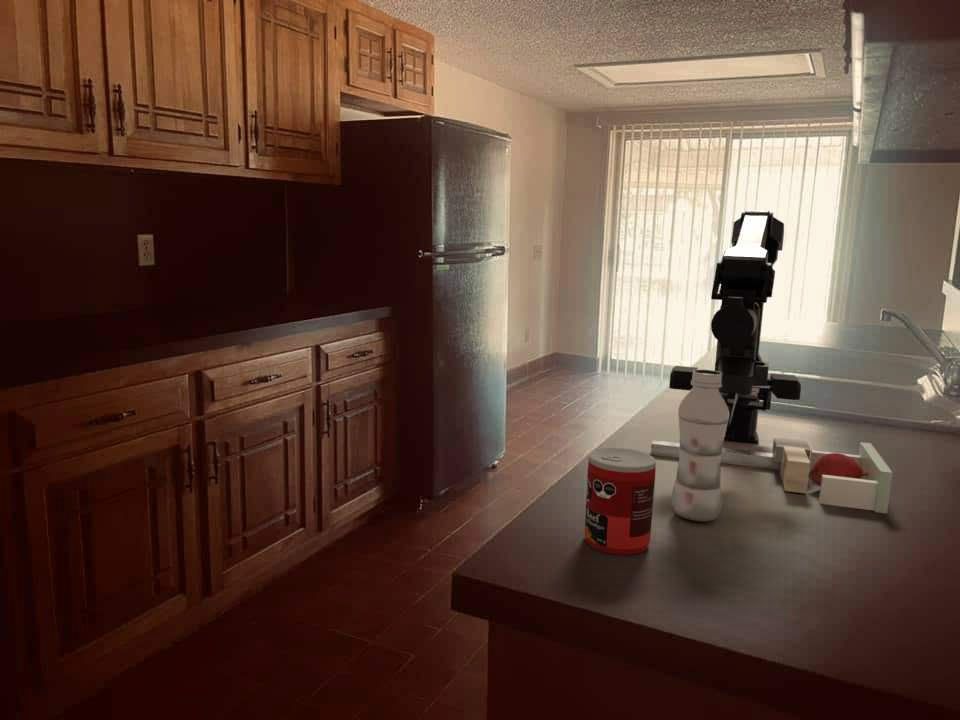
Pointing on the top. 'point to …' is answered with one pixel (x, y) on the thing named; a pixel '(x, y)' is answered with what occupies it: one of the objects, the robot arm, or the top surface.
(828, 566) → the top surface
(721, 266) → the robot arm
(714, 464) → the plastic bottle
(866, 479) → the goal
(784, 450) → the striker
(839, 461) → the red round solid
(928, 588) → the top surface
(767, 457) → the rail
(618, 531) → the canned food
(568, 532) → the top surface
